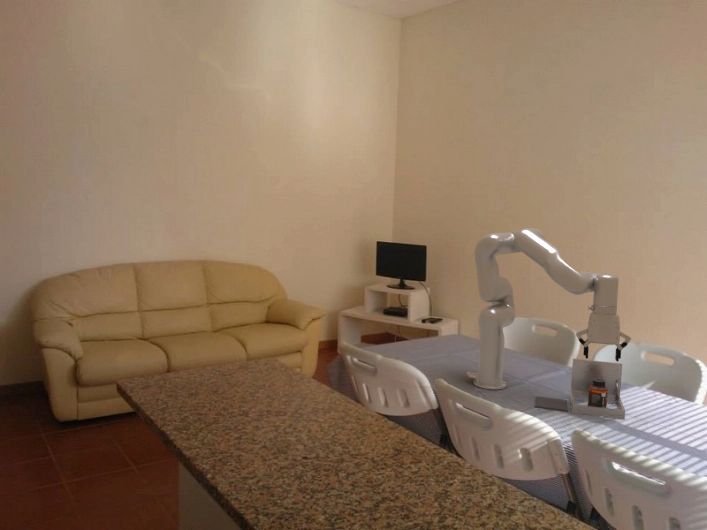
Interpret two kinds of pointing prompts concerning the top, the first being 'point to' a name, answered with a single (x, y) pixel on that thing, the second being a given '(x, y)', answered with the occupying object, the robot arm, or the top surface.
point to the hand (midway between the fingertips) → (601, 359)
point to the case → (584, 378)
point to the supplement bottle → (598, 393)
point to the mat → (551, 403)
